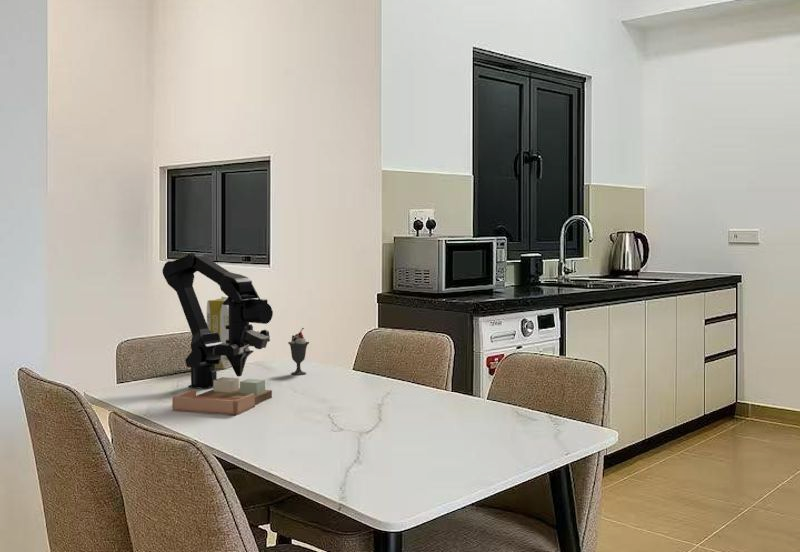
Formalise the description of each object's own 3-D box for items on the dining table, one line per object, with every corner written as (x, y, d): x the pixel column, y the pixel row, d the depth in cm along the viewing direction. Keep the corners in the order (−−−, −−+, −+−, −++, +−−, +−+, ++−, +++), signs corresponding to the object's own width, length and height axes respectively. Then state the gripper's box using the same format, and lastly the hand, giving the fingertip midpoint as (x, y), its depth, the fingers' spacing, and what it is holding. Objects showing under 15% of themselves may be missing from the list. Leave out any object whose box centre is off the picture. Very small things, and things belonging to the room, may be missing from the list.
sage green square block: (239, 393, 212) (239, 382, 212) (248, 389, 217) (248, 378, 217) (256, 394, 211) (256, 383, 210) (265, 390, 215) (265, 379, 215)
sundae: (307, 375, 249) (307, 328, 248) (286, 375, 249) (286, 328, 249) (310, 372, 256) (310, 326, 255) (289, 371, 256) (289, 326, 255)
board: (197, 402, 209) (196, 395, 209) (219, 393, 221) (219, 386, 220) (251, 406, 204) (251, 399, 204) (271, 397, 216) (271, 390, 216)
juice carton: (226, 369, 260) (226, 297, 258) (204, 368, 261) (203, 296, 260) (238, 365, 269) (237, 295, 268) (216, 364, 270) (215, 294, 269)
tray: (172, 410, 200) (172, 396, 200) (193, 402, 209) (193, 389, 209) (236, 415, 195) (236, 401, 194) (254, 406, 204) (254, 393, 204)
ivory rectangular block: (213, 391, 214) (213, 380, 214) (222, 387, 219) (222, 377, 219) (230, 392, 213) (229, 381, 213) (238, 388, 218) (238, 378, 217)
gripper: (249, 326, 211) (249, 384, 212) (279, 319, 229) (279, 372, 230) (212, 324, 214) (212, 381, 215) (244, 317, 232) (245, 370, 233)
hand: (239, 376), depth 223 cm, fingers closed
